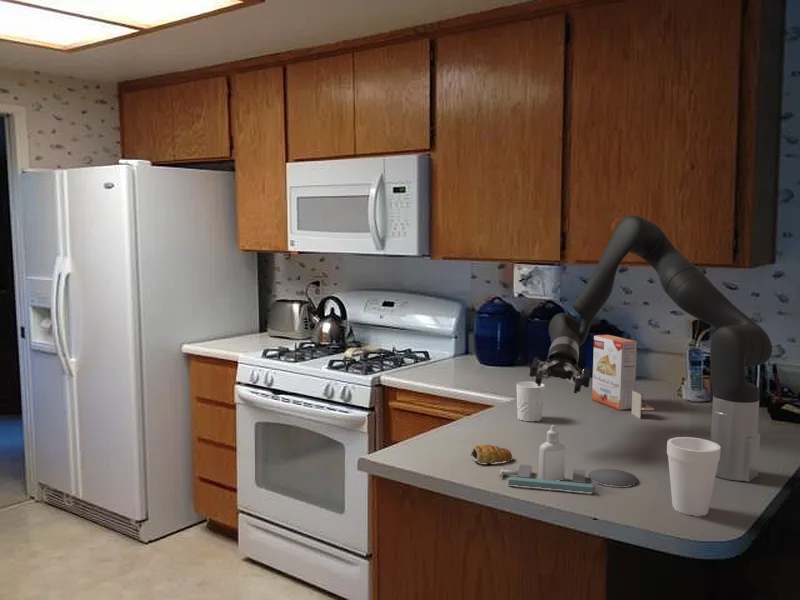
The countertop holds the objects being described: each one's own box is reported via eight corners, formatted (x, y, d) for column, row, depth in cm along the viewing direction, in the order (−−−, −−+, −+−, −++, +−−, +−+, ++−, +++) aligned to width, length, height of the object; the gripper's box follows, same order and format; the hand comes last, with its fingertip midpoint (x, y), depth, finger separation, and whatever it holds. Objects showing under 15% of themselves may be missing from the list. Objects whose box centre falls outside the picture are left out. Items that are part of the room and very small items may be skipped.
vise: (592, 477, 158) (592, 470, 158) (592, 494, 148) (592, 487, 148) (502, 469, 163) (502, 462, 163) (496, 485, 153) (496, 478, 152)
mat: (645, 479, 157) (645, 476, 157) (623, 491, 150) (623, 488, 150) (603, 468, 164) (603, 465, 164) (579, 479, 157) (580, 476, 157)
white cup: (511, 420, 205) (512, 385, 204) (520, 414, 211) (521, 380, 210) (539, 424, 201) (540, 388, 200) (547, 417, 208) (548, 383, 207)
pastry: (505, 455, 173) (506, 439, 173) (516, 464, 167) (517, 448, 167) (468, 457, 171) (468, 442, 171) (477, 467, 165) (478, 451, 164)
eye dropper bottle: (566, 484, 154) (567, 428, 153) (539, 483, 154) (540, 427, 153) (563, 477, 158) (565, 423, 157) (537, 476, 159) (538, 422, 157)
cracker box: (590, 400, 229) (592, 334, 227) (606, 399, 232) (608, 334, 230) (618, 411, 216) (621, 341, 214) (635, 409, 219) (638, 340, 217)
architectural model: (642, 415, 214) (643, 390, 213) (653, 421, 207) (654, 395, 206) (631, 415, 213) (632, 390, 213) (641, 421, 207) (643, 395, 206)
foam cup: (715, 504, 143) (718, 440, 142) (719, 522, 134) (723, 453, 133) (663, 498, 146) (666, 435, 145) (664, 515, 137) (667, 448, 136)
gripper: (537, 338, 186) (529, 366, 171) (594, 348, 182) (591, 378, 168) (533, 363, 189) (525, 394, 174) (589, 374, 185) (585, 406, 171)
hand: (557, 386), depth 171 cm, fingers open, 8 cm apart
